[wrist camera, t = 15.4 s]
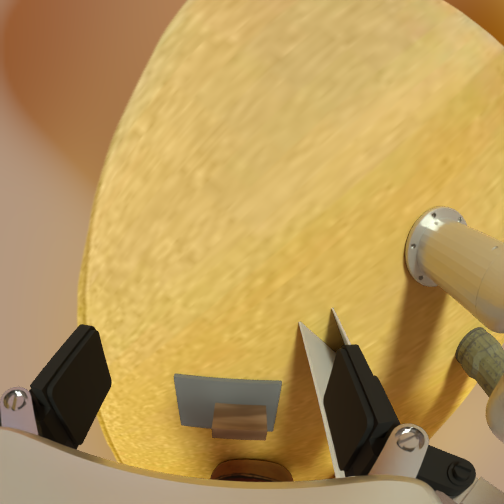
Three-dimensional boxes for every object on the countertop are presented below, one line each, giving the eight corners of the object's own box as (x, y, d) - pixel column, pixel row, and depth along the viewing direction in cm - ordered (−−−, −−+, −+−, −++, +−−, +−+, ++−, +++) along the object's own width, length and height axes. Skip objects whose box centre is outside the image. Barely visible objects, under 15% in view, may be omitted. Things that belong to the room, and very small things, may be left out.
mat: (281, 380, 46) (281, 383, 45) (272, 428, 50) (272, 431, 49) (174, 373, 45) (173, 376, 45) (182, 422, 50) (181, 425, 49)
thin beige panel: (355, 370, 45) (413, 521, 17) (326, 382, 46) (366, 538, 18) (333, 307, 41) (414, 492, 13) (298, 322, 42) (344, 518, 14)
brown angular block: (215, 402, 47) (211, 427, 41) (266, 405, 47) (267, 430, 41) (215, 412, 48) (212, 437, 42) (264, 415, 48) (265, 440, 42)
